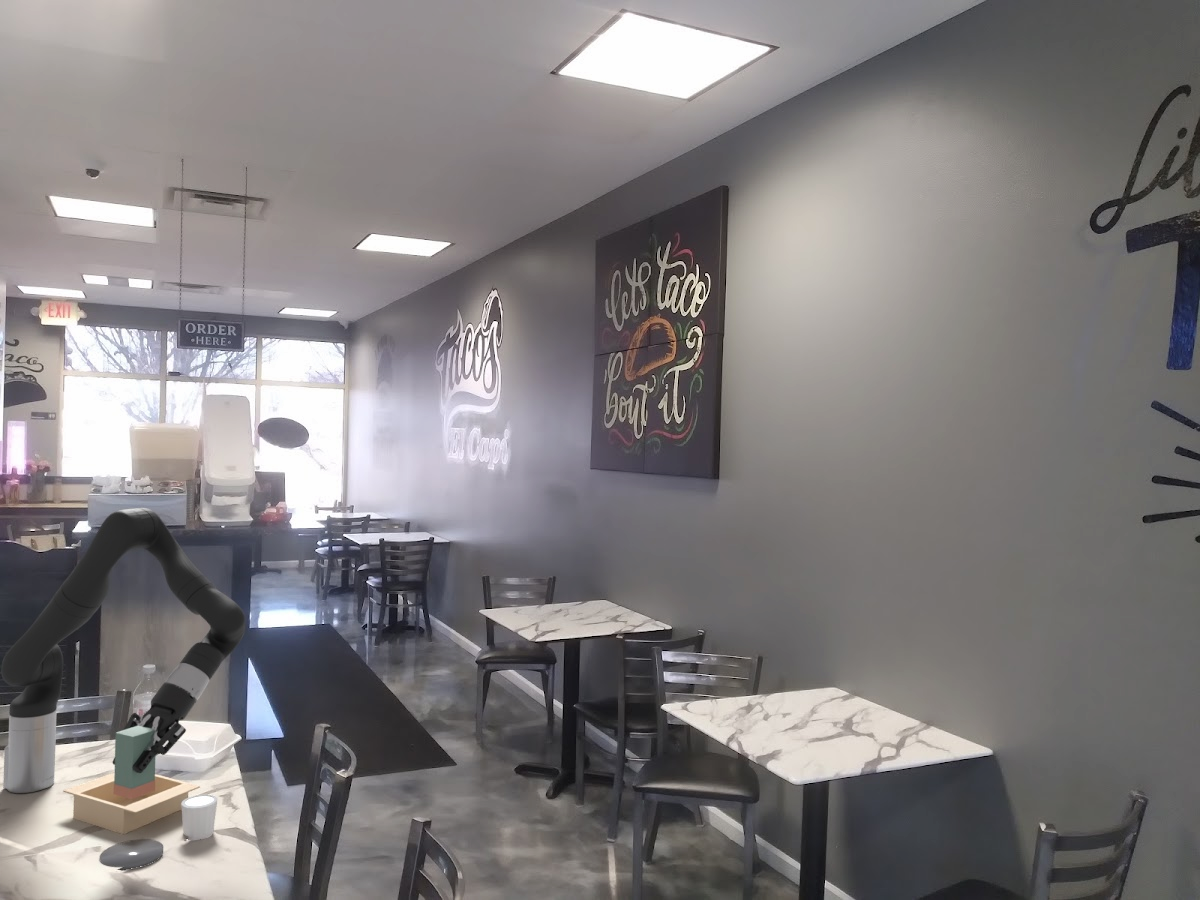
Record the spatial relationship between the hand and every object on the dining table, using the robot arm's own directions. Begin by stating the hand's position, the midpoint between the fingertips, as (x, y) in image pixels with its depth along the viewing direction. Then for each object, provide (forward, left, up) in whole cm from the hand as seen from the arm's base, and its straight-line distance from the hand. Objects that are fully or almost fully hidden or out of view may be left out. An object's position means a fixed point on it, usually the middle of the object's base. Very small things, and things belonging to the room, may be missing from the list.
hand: (126, 768), depth 169 cm
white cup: (+6, +14, -18) cm, 24 cm away
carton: (-13, +18, -18) cm, 28 cm away
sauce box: (0, +2, -5) cm, 6 cm away
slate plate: (0, +2, -18) cm, 18 cm away
